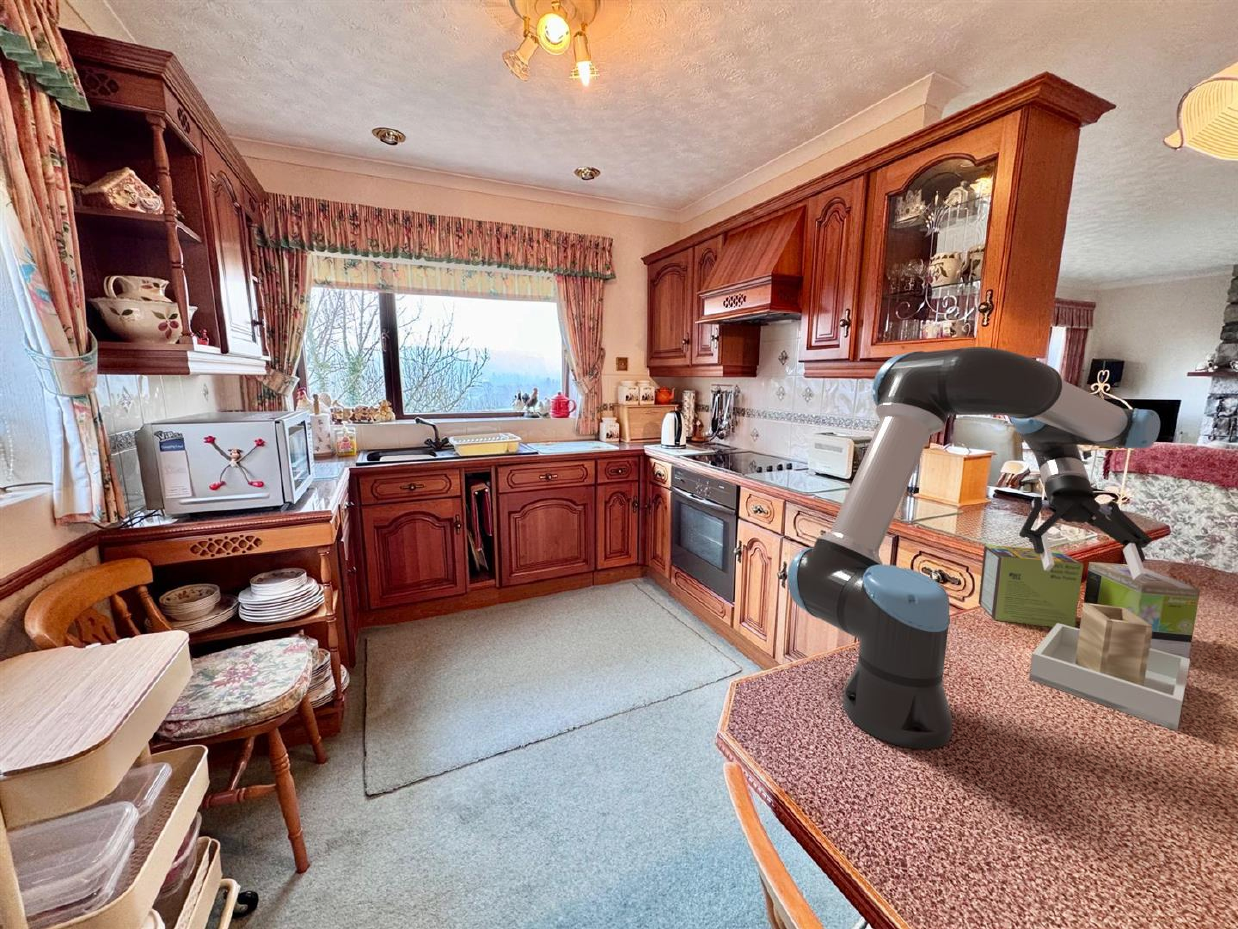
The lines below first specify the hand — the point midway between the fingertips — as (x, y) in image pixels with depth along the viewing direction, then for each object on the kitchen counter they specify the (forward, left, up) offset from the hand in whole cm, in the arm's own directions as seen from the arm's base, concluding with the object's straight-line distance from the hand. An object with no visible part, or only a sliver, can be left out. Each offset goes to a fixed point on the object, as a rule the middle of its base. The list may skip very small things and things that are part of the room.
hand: (1093, 572), depth 95 cm
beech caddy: (+4, -8, -17) cm, 19 cm away
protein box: (-12, +15, -18) cm, 27 cm away
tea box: (+5, +19, -18) cm, 27 cm away
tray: (+5, -8, -18) cm, 20 cm away
